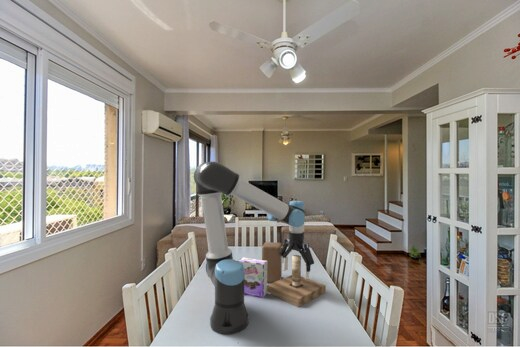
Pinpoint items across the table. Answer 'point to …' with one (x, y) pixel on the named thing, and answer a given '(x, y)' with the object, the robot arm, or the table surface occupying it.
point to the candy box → (255, 277)
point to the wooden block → (272, 260)
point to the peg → (296, 271)
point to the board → (296, 290)
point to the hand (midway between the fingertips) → (295, 273)
